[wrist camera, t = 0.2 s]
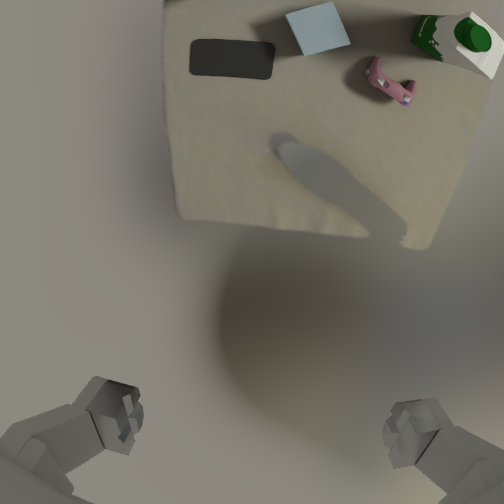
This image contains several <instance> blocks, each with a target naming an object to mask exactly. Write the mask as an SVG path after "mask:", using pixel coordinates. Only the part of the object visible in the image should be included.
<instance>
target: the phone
mask: <svg viewBox="0 0 504 504" xmlns="http://www.w3.org/2000/svg"><path fill="white" fill-rule="evenodd" d="M274 52H275V48H274V46H273V45H272V44H270V43H264V42H254V41H241V40H223V39H197V40H195V41H194V42H193V43H192V52H191V72H192V73H193V74H195V75H210V76H231V77H244V78H254V79H264V80H265V79H269V78H270V77H271V75H272V68H273V60H274Z"/></svg>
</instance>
